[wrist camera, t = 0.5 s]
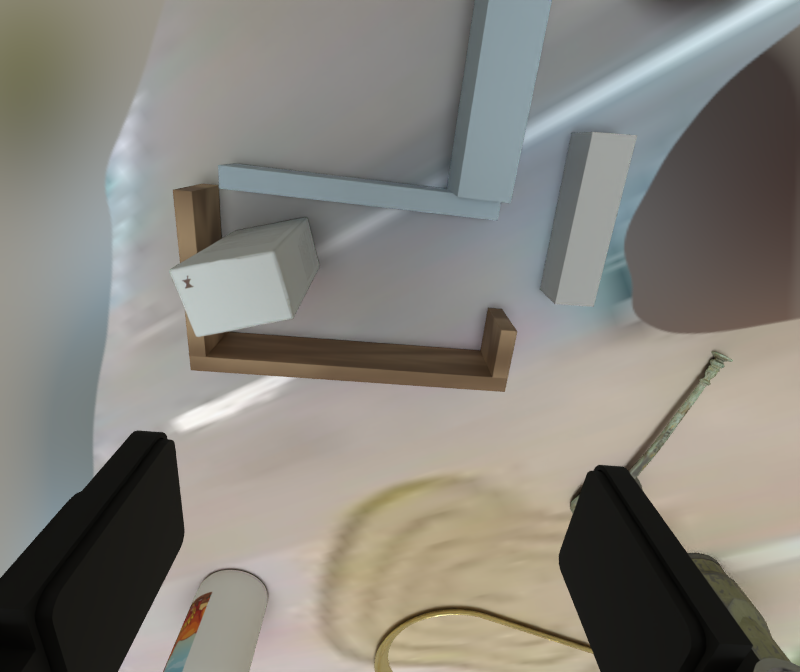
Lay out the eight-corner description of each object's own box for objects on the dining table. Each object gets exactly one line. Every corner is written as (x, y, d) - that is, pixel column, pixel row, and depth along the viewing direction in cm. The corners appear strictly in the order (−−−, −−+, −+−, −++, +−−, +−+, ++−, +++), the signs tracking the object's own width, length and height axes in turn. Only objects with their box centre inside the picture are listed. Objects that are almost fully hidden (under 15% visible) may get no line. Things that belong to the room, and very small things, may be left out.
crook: (226, -162, 27) (183, -242, 21) (547, -108, 28) (586, -171, 22) (235, 184, 34) (205, 192, 29) (487, 213, 35) (505, 226, 30)
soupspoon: (553, 504, 49) (601, 520, 50) (565, 530, 46) (616, 546, 47) (691, 337, 40) (744, 362, 42) (717, 355, 37) (773, 382, 39)
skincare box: (250, 281, 37) (192, 339, 26) (234, 229, 35) (164, 268, 24) (323, 268, 37) (294, 321, 26) (309, 215, 35) (273, 247, 24)
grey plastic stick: (570, 133, 33) (592, 131, 30) (610, 136, 34) (637, 135, 30) (539, 288, 38) (554, 304, 34) (573, 290, 38) (593, 306, 35)
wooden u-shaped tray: (202, 183, 34) (172, 189, 29) (520, 212, 35) (539, 223, 31) (214, 343, 39) (190, 370, 34) (491, 363, 40) (504, 391, 36)
